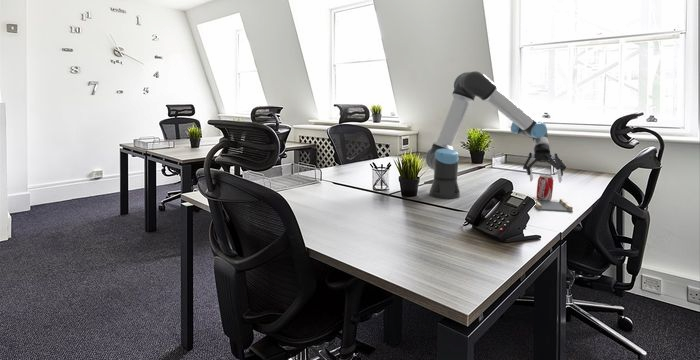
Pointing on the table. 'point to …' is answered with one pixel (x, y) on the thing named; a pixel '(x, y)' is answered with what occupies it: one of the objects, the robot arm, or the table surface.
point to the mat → (552, 206)
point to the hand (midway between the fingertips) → (545, 180)
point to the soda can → (544, 187)
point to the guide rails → (559, 201)
